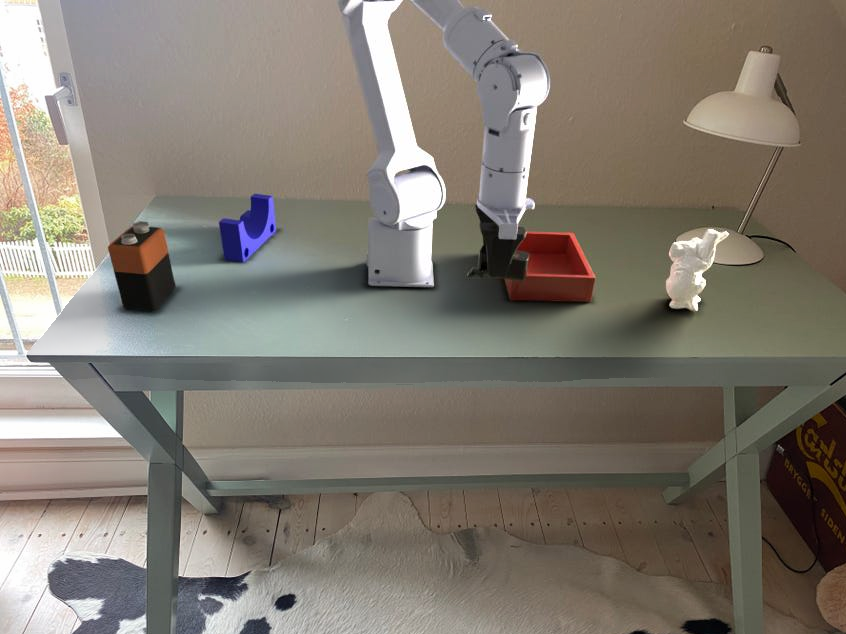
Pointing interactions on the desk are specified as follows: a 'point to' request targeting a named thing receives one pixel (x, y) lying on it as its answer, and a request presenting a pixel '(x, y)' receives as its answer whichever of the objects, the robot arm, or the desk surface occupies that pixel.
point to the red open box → (553, 270)
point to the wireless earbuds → (515, 270)
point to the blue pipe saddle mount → (248, 229)
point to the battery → (142, 267)
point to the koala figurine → (690, 268)
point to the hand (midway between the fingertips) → (494, 267)
